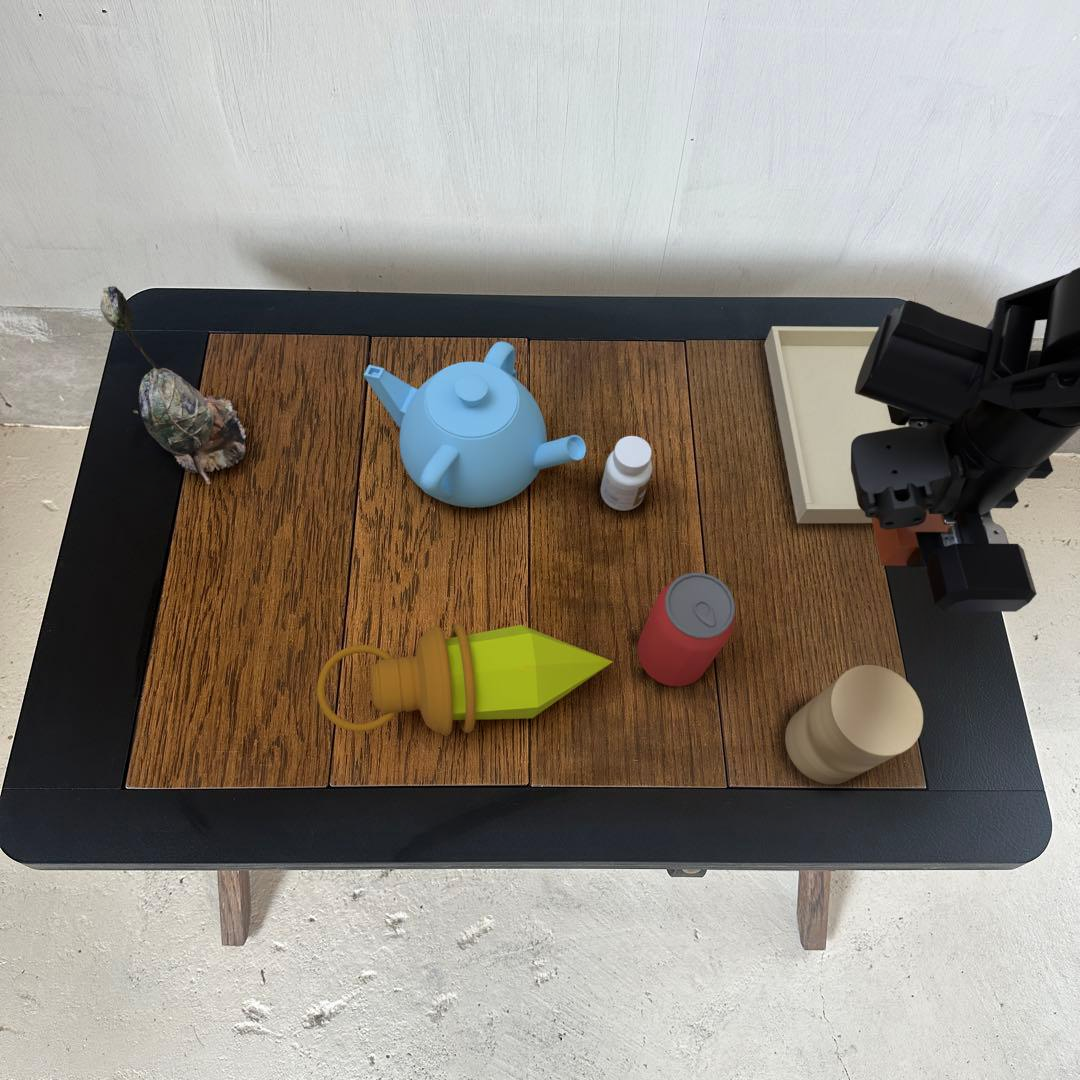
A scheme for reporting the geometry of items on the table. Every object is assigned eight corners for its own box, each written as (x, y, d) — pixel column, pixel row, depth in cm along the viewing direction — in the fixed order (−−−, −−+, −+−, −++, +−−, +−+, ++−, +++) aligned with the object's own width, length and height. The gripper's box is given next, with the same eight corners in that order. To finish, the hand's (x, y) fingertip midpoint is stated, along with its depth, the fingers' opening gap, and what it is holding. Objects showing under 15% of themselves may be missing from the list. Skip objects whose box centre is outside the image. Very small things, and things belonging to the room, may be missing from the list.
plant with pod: (156, 496, 82) (61, 367, 64) (173, 399, 87) (90, 255, 69) (242, 495, 83) (171, 366, 65) (254, 399, 88) (192, 255, 70)
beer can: (660, 701, 75) (687, 657, 65) (623, 638, 78) (643, 586, 67) (721, 669, 77) (758, 621, 66) (683, 608, 79) (713, 553, 69)
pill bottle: (644, 512, 84) (658, 472, 77) (600, 511, 84) (610, 470, 77) (643, 474, 86) (656, 431, 79) (599, 472, 86) (609, 429, 79)
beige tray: (926, 523, 85) (940, 508, 82) (797, 523, 84) (806, 509, 81) (880, 344, 95) (891, 326, 92) (764, 344, 94) (771, 325, 91)
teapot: (442, 556, 81) (435, 498, 71) (371, 420, 87) (355, 349, 77) (583, 494, 84) (595, 431, 74) (505, 368, 91) (506, 294, 81)
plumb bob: (592, 617, 79) (316, 644, 73) (620, 600, 71) (310, 630, 65) (606, 715, 77) (323, 751, 71) (637, 711, 69) (318, 751, 63)
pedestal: (872, 722, 75) (931, 685, 65) (854, 797, 72) (913, 770, 62) (796, 692, 76) (843, 650, 66) (775, 765, 73) (821, 733, 63)
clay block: (936, 566, 69) (956, 547, 66) (881, 565, 68) (899, 546, 65) (923, 516, 71) (943, 496, 68) (870, 516, 70) (888, 495, 67)
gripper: (861, 317, 59) (791, 440, 73) (918, 560, 51) (828, 647, 65) (1017, 319, 59) (918, 441, 73) (1099, 561, 51) (971, 647, 65)
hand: (906, 538), depth 69 cm, fingers closed on clay block, 4 cm apart
